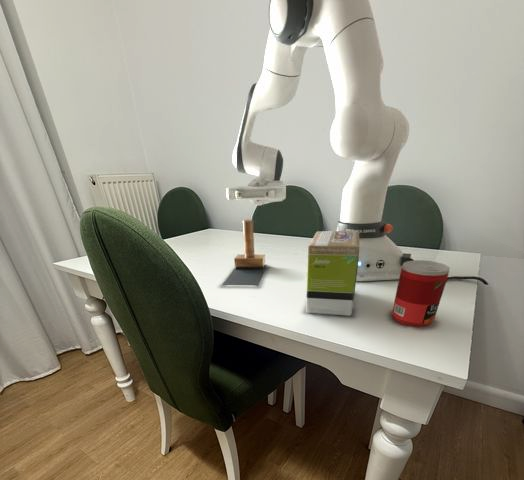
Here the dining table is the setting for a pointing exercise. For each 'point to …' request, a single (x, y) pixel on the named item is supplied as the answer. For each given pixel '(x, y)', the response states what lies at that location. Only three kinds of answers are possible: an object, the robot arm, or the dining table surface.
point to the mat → (244, 277)
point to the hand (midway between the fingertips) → (253, 195)
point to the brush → (249, 251)
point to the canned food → (419, 292)
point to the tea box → (332, 272)
